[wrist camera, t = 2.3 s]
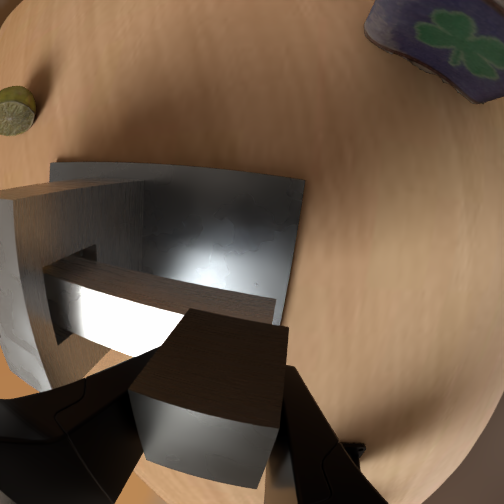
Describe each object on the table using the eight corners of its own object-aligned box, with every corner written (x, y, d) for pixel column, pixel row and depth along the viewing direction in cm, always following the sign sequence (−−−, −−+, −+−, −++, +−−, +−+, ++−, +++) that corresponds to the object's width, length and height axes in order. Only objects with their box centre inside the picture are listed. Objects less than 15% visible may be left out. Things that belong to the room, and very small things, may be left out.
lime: (51, 99, 15) (5, 93, 11) (27, 149, 17) (-17, 152, 12) (33, 80, 15) (-8, 74, 10) (11, 126, 16) (-29, 126, 12)
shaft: (291, 293, 10) (279, 428, 4) (277, 358, 11) (256, 489, 5) (-5, 228, 12) (-76, 255, 6) (0, 271, 13) (-64, 304, 7)
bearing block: (304, 180, 15) (321, 190, 5) (273, 352, 18) (249, 485, 8) (55, 162, 17) (-54, 175, 7) (61, 295, 20) (-22, 350, 10)
